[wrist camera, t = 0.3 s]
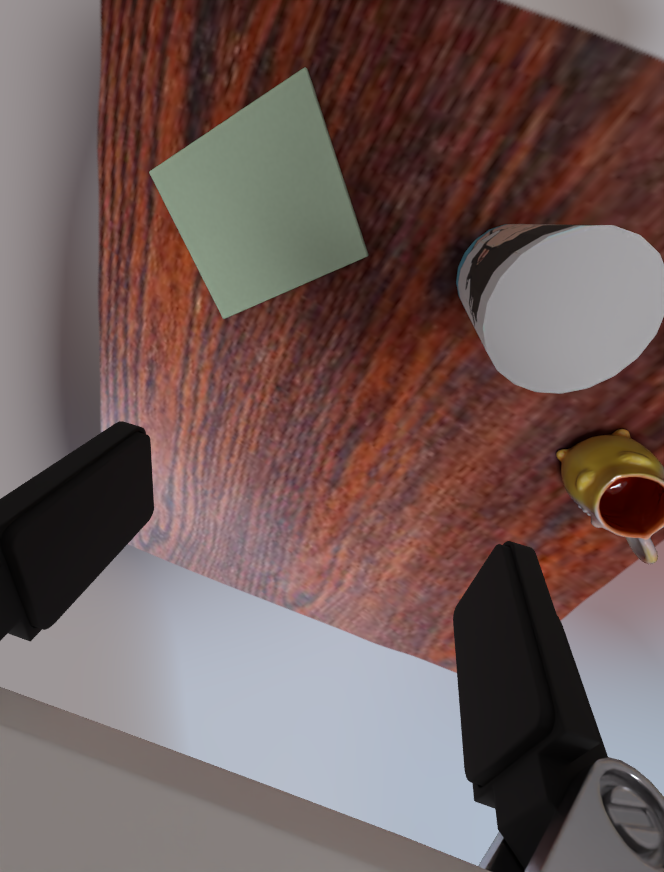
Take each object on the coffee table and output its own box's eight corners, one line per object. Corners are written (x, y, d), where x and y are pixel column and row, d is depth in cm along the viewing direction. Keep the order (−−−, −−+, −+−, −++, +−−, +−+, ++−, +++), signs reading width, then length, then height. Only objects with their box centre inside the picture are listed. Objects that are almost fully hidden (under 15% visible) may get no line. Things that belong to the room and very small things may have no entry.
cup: (563, 296, 28) (680, 357, 15) (472, 334, 31) (508, 413, 18) (539, 203, 26) (655, 184, 13) (443, 253, 28) (461, 278, 16)
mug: (546, 443, 34) (571, 487, 28) (635, 415, 31) (683, 458, 26) (580, 537, 38) (607, 592, 32) (661, 520, 35) (707, 577, 30)
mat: (153, 172, 30) (148, 171, 29) (307, 69, 25) (305, 66, 24) (226, 317, 34) (223, 319, 34) (368, 255, 29) (367, 256, 29)
